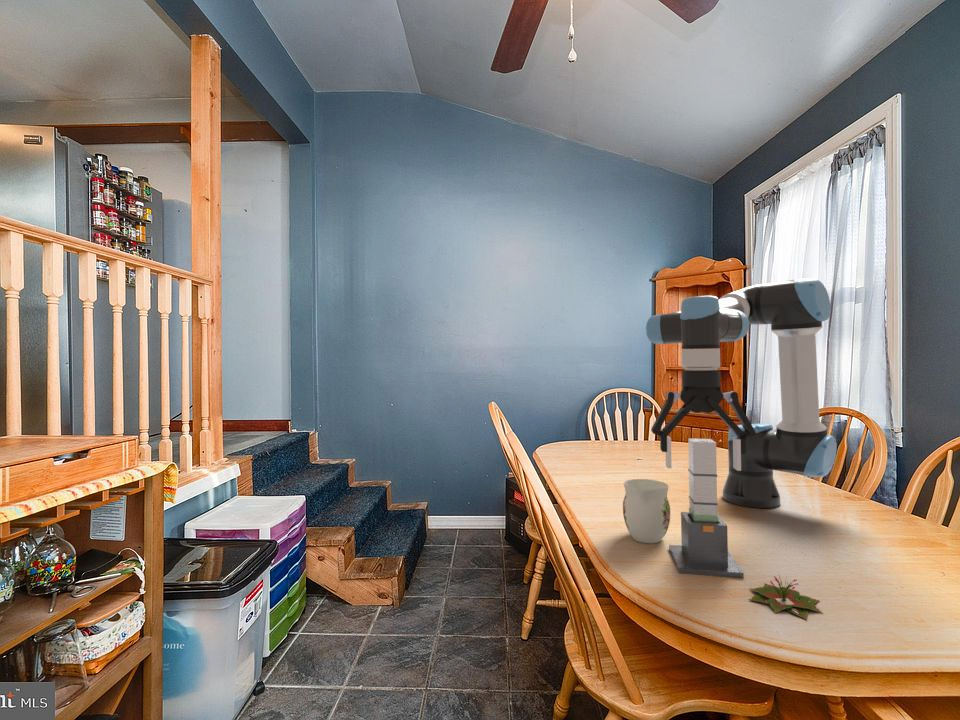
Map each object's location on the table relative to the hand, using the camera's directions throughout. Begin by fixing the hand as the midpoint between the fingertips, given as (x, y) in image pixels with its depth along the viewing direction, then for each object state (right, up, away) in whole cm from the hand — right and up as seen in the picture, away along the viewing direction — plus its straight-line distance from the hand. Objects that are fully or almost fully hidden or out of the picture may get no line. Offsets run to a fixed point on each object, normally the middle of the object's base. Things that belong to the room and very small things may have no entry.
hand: (702, 468), depth 100 cm
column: (0, -12, 0) cm, 12 cm away
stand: (0, -20, 0) cm, 20 cm away
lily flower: (+7, -21, -16) cm, 27 cm away
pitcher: (-6, -21, +15) cm, 26 cm away
